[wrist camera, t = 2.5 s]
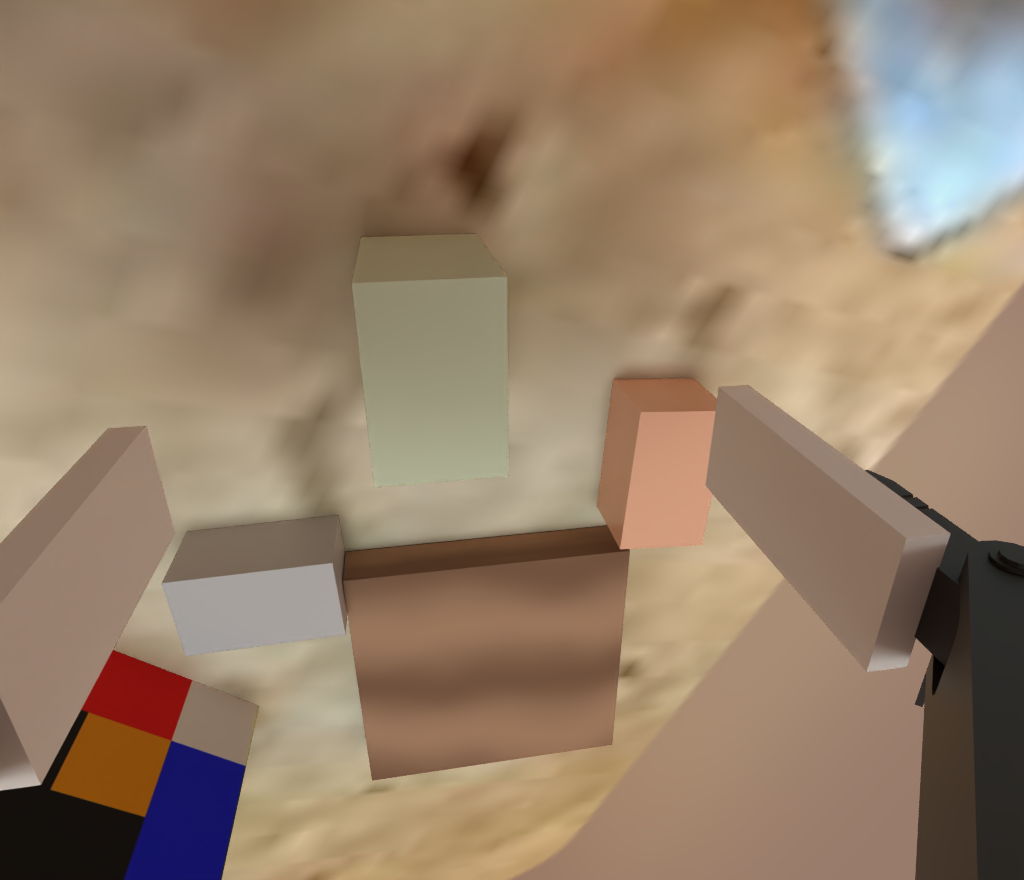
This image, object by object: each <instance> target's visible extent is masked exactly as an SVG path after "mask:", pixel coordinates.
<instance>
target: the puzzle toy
mask: <svg viewBox="0 0 1024 880" xmlns="http://www.w3.org/2000/svg"><path fill="white" fill-rule="evenodd" d="M258 708H259V706H258V705H255V704H252V703H250V702H247V701H245V700H242V699H239V698H237V697H234V696H232V695H229V694H226V693H224V692H221V691H219V690H216V689H213V688H211V687H208V686H206V685H203V684H200V683H198V682H195V681H193V680H190V679H187V678H185V677H182V676H179V675H177V674H174V673H172V672H169V671H166V670H164V669H161V668H159V667H156V666H153V665H151V664H148V663H146V662H143V661H140V660H138V659H135V658H133V657H130V656H127V655H125V654H122V653H120V652H117V651H114V650H112V652H111V654H110V656H109V658H108V660H107V662H106V664H105V665H104V667H103V669H102V671H101V673H100V675H99V677H98V679H97V680H96V682H95V684H94V686H93V688H92V690H91V692H90V694H89V695H88V697H87V699H86V701H85V703H84V705H83V707H82V709H81V710H80V712H79V714H78V716H77V718H76V720H75V722H74V724H73V725H72V727H71V729H70V731H69V733H68V735H67V737H66V739H65V740H64V742H63V744H62V746H61V748H60V750H59V752H58V754H57V755H56V757H55V759H54V761H53V763H52V765H51V767H50V769H49V770H48V772H47V774H46V776H45V778H44V780H43V782H42V784H41V785H37V786H30V787H23V788H15V789H8V790H1V791H0V880H221V879H222V875H223V870H224V865H225V861H226V856H227V852H228V847H229V842H230V838H231V833H232V828H233V824H234V819H235V815H236V810H237V805H238V801H239V796H240V792H241V787H242V782H243V778H244V773H245V768H246V764H247V759H248V755H249V750H250V745H251V741H252V736H253V731H254V727H255V722H256V718H257V713H258Z"/></svg>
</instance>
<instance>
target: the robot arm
mask: <svg viewBox="0 0 1024 880" xmlns="http://www.w3.org/2000/svg"><path fill="white" fill-rule="evenodd" d="M705 486H706V487H707V488H708V489H709V490H710V491H711V493H712V494H713V495H714V496H715V497H716V498H717V500H718V501H719V502H720V503H721V504H722V505H723V506H724V508H725V509H726V510H727V511H728V512H729V513H730V515H731V516H732V517H733V518H734V519H735V520H736V522H737V523H738V524H739V525H740V526H741V527H742V528H743V530H744V531H745V532H746V533H747V534H748V535H749V537H750V538H751V539H752V540H753V541H754V542H755V543H756V545H757V546H758V547H759V548H760V549H761V550H762V552H763V553H764V554H765V555H766V556H767V557H768V558H769V560H770V561H771V562H772V563H773V564H774V565H775V567H776V568H777V569H778V570H779V571H780V572H781V574H782V575H783V576H784V577H785V578H786V579H787V580H788V582H789V583H790V584H791V585H792V586H793V587H794V588H795V590H796V591H797V592H798V593H799V594H800V595H801V597H802V598H803V599H804V600H805V601H806V602H807V604H808V605H809V606H810V607H811V608H812V609H813V610H814V612H815V613H816V614H817V615H818V616H819V617H820V619H821V620H822V621H823V622H824V623H825V624H826V625H827V627H828V628H829V629H830V630H831V631H832V632H833V634H834V635H835V636H836V637H837V638H838V639H839V640H840V641H841V643H842V644H843V645H844V646H845V647H846V649H847V650H848V651H849V652H850V653H851V654H852V656H853V657H854V658H855V659H856V660H857V661H858V663H859V664H860V665H861V666H862V667H863V668H864V669H865V671H866V672H871V671H877V670H885V669H892V668H899V667H906V666H907V664H908V661H909V658H910V655H911V652H912V649H913V646H914V643H915V640H916V638H917V639H918V640H919V641H920V642H921V643H922V644H923V645H924V646H925V647H926V648H927V649H928V650H929V651H930V652H931V653H932V657H931V659H930V662H929V666H928V668H927V671H926V674H925V677H924V679H923V682H922V685H921V688H920V691H919V694H918V697H917V700H916V703H915V705H918V706H921V707H922V706H923V705H924V703H925V706H924V707H925V708H924V725H923V745H922V763H921V782H920V801H919V820H918V821H919V822H918V839H917V858H916V859H917V860H916V876H915V880H1024V547H1023V546H1020V545H1017V544H1014V543H1008V542H1002V541H980V542H979V541H977V540H976V539H974V538H973V537H971V536H970V535H969V534H967V533H966V532H965V531H963V530H962V529H960V528H959V527H958V526H956V525H955V524H953V523H952V522H950V521H949V520H948V519H946V518H945V517H943V516H942V515H940V514H939V513H938V512H936V511H935V510H933V509H929V508H928V505H927V504H925V503H924V502H922V501H921V500H920V499H918V498H917V497H915V498H913V494H911V493H910V492H908V491H907V490H905V489H904V488H903V487H901V486H900V485H899V484H897V483H896V482H894V481H892V480H890V479H888V478H885V477H883V476H881V475H878V474H876V473H874V472H872V471H869V470H863V469H862V468H861V467H859V466H858V465H857V464H855V463H854V462H852V461H851V460H850V459H848V458H847V457H846V456H844V455H843V454H842V453H840V452H839V451H837V450H836V449H835V448H833V447H832V446H831V445H829V444H828V443H827V442H825V441H824V440H822V439H821V438H820V437H818V436H817V435H816V434H814V433H813V432H812V431H810V430H809V429H807V428H806V427H805V426H803V425H802V424H801V423H799V422H798V421H797V420H795V419H794V418H792V417H791V416H790V415H788V414H787V413H786V412H784V411H783V410H782V409H780V408H779V407H777V406H776V405H775V404H773V403H772V402H771V401H769V400H768V399H767V398H765V397H764V396H762V395H761V394H760V393H758V392H757V391H756V390H754V389H753V388H752V387H750V386H749V385H741V386H726V387H719V389H718V397H717V404H716V411H715V419H714V426H713V433H712V441H711V448H710V456H709V463H708V470H707V478H706V485H705ZM174 534H175V531H174V527H173V524H172V520H171V516H170V513H169V509H168V505H167V501H166V498H165V494H164V490H163V487H162V483H161V479H160V475H159V472H158V468H157V464H156V460H155V457H154V453H153V449H152V446H151V442H150V438H149V434H148V431H147V427H146V426H136V427H121V428H108V429H107V430H106V431H105V432H104V433H103V434H102V436H101V437H100V438H99V439H98V440H97V441H96V442H95V443H94V444H93V445H92V446H91V447H90V448H89V449H88V450H87V452H86V453H85V454H84V455H83V456H82V457H81V458H80V459H79V460H78V461H77V462H76V463H75V464H74V465H73V466H72V468H71V469H70V470H69V471H68V472H67V473H66V474H65V475H64V476H63V477H62V478H61V479H60V480H59V481H58V482H57V484H56V485H55V486H54V487H53V488H52V489H51V490H50V491H49V492H48V493H47V494H46V495H45V496H44V497H43V498H42V500H41V501H40V502H39V503H38V504H37V505H36V506H35V507H34V508H33V509H32V510H31V511H30V512H29V513H28V515H27V516H26V517H25V518H24V519H23V520H22V521H21V522H20V523H19V524H18V525H17V526H16V527H15V528H14V529H13V531H12V532H11V533H10V534H9V535H8V536H7V537H6V538H5V539H4V540H3V541H2V542H1V543H0V791H1V790H8V789H15V788H23V787H30V786H37V785H41V784H42V782H43V780H44V778H45V776H46V774H47V772H48V770H49V769H50V767H51V765H52V763H53V761H54V759H55V757H56V755H57V754H58V752H59V750H60V748H61V746H62V744H63V742H64V740H65V739H66V737H67V735H68V733H69V731H70V729H71V727H72V725H73V724H74V722H75V720H76V718H77V716H78V714H79V712H80V710H81V709H82V707H83V705H84V703H85V701H86V699H87V697H88V695H89V694H90V692H91V690H92V688H93V686H94V684H95V682H96V680H97V679H98V677H99V675H100V673H101V671H102V669H103V667H104V665H105V664H106V662H107V660H108V658H109V656H110V654H111V652H112V650H113V649H114V647H115V645H116V643H117V641H118V639H119V637H120V635H121V634H122V632H123V630H124V628H125V626H126V624H127V622H128V620H129V619H130V617H131V615H132V613H133V611H134V609H135V607H136V605H137V604H138V602H139V600H140V598H141V596H142V594H143V592H144V590H145V589H146V587H147V585H148V583H149V581H150V579H151V577H152V575H153V574H154V572H155V570H156V568H157V566H158V564H159V562H160V560H161V559H162V557H163V555H164V553H165V551H166V549H167V547H168V545H169V544H170V542H171V540H172V538H173V536H174Z"/></svg>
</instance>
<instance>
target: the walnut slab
mask: <svg viewBox="0 0 1024 880" xmlns="http://www.w3.org/2000/svg"><path fill="white" fill-rule="evenodd" d="M629 553H630V550H629V549H620V548H619V547H618V545H617V543H616V541H615V539H614V537H613V535H612V533H611V531H610V529H609V528H608V526H601V527H591V528H581V529H571V530H561V531H551V532H541V533H531V534H521V535H511V536H501V537H491V538H481V539H471V540H461V541H451V542H441V543H431V544H421V545H410V546H400V547H390V548H380V549H370V550H360V551H350V552H346V554H345V564H344V574H343V586H344V593H345V599H346V606H347V613H348V620H349V626H350V633H351V640H352V647H353V654H354V660H355V667H356V674H357V681H358V688H359V694H360V701H361V708H362V715H363V722H364V728H365V735H366V742H367V749H368V755H369V762H370V769H371V776H372V780H379V779H385V778H392V777H399V776H406V775H412V774H419V773H426V772H432V771H439V770H446V769H452V768H459V767H466V766H472V765H479V764H486V763H492V762H499V761H506V760H513V759H519V758H526V757H533V756H539V755H546V754H553V753H559V752H566V751H573V750H579V749H586V748H593V747H599V746H606V745H612V741H613V730H614V719H615V708H616V697H617V686H618V675H619V664H620V653H621V642H622V631H623V619H624V608H625V597H626V586H627V575H628V564H629Z"/></svg>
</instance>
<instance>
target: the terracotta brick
mask: <svg viewBox="0 0 1024 880" xmlns="http://www.w3.org/2000/svg"><path fill="white" fill-rule="evenodd" d="M716 404H717V398H715V397H714V396H713V395H712V394H711V393H710V392H709V391H707V390H706V389H705V388H704V387H703V386H702V385H701V384H699V383H698V382H697V381H696V380H695V379H613V385H612V392H611V400H610V408H609V416H608V423H607V431H606V439H605V447H604V454H603V462H602V470H601V478H600V485H599V493H598V501H597V507H598V509H599V511H600V512H601V514H602V516H603V518H604V520H605V522H606V524H607V526H608V528H609V529H610V531H611V533H612V535H613V537H614V539H615V541H616V543H617V545H618V547H619V548H620V549H635V548H654V547H673V546H691V545H702V541H703V536H704V531H705V527H706V522H707V518H708V513H709V508H710V504H711V499H712V493H711V491H710V490H709V489H708V488H707V487H706V486H705V485H706V478H707V470H708V463H709V456H710V448H711V441H712V433H713V426H714V419H715V411H716Z"/></svg>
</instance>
